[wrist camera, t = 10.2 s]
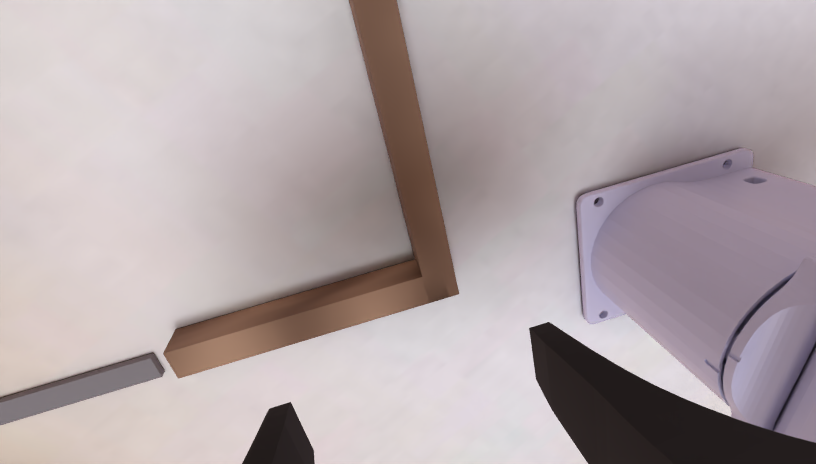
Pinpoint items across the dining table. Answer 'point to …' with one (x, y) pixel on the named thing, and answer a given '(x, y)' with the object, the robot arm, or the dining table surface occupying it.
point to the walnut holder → (365, 292)
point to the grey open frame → (79, 388)
